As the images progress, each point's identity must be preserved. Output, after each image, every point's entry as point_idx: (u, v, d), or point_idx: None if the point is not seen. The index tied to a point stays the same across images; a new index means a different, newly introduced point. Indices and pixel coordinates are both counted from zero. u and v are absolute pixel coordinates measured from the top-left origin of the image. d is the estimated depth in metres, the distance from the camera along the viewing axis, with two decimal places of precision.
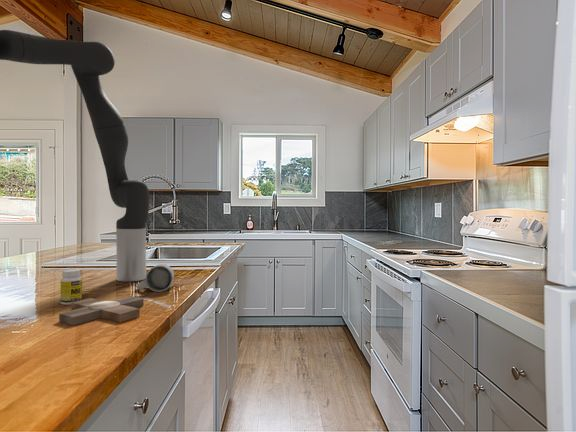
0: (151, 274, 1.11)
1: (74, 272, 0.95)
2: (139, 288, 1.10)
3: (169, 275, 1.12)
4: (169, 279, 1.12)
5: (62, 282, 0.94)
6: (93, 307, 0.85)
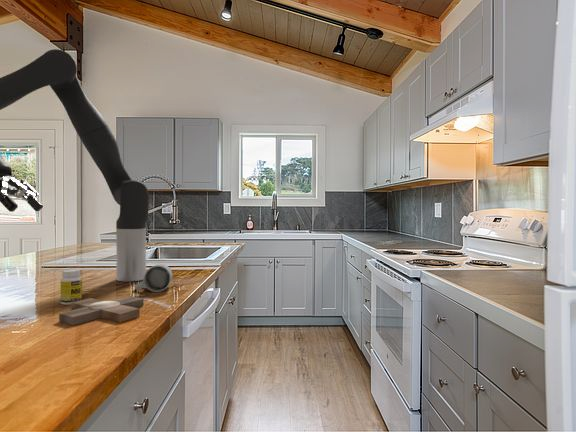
0: (149, 274, 1.11)
1: (74, 272, 0.95)
2: (137, 288, 1.10)
3: (167, 275, 1.12)
4: (167, 279, 1.12)
5: (62, 282, 0.94)
6: (93, 307, 0.85)
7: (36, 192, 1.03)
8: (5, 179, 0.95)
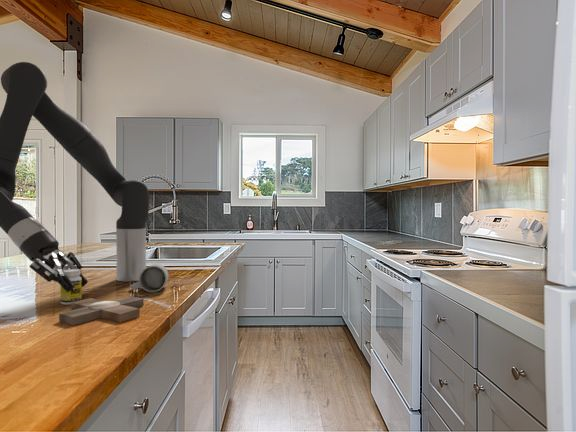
0: (145, 274, 1.10)
1: (74, 272, 0.95)
2: (133, 288, 1.10)
3: (163, 275, 1.11)
4: (163, 279, 1.12)
5: None
6: (93, 307, 0.85)
7: (80, 266, 1.01)
8: (54, 256, 0.95)
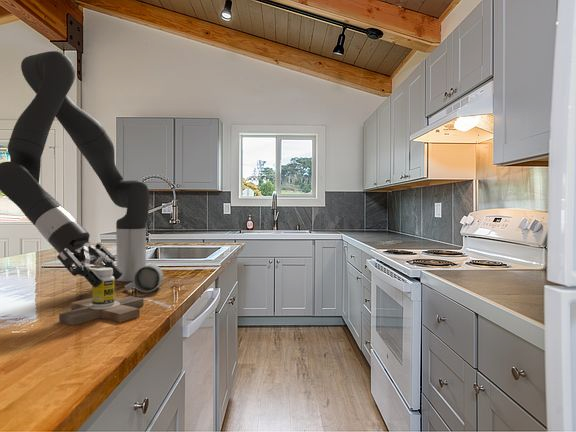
0: (139, 274, 1.10)
1: (107, 271, 0.86)
2: (127, 288, 1.09)
3: (157, 276, 1.11)
4: (157, 280, 1.11)
5: None
6: (93, 307, 0.85)
7: (113, 257, 0.94)
8: (86, 249, 0.86)
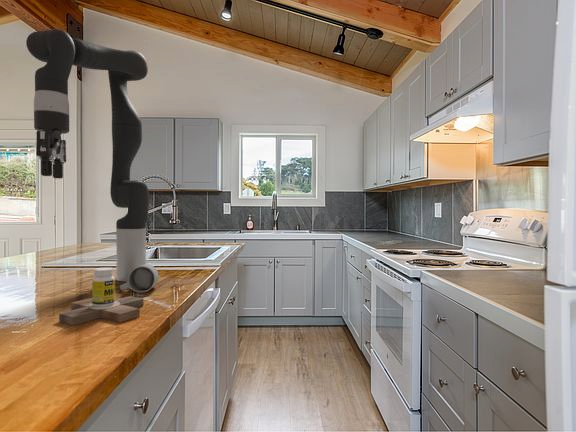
0: (134, 274, 1.10)
1: (107, 271, 0.86)
2: (122, 289, 1.09)
3: (152, 276, 1.11)
4: (152, 280, 1.11)
5: (94, 282, 0.85)
6: (93, 307, 0.85)
7: (65, 160, 1.01)
8: (59, 142, 0.93)
